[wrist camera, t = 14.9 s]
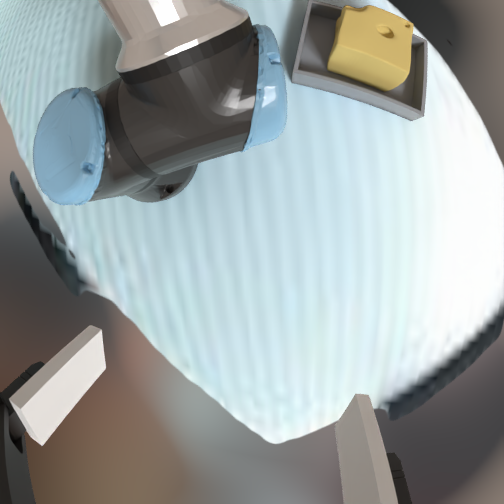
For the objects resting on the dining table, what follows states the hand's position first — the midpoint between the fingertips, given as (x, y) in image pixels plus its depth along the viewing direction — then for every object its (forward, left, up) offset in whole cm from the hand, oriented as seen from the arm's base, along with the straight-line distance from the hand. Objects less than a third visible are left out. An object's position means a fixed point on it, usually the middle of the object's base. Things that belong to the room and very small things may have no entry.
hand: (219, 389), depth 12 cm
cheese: (+9, +33, -31) cm, 46 cm away
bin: (+9, +33, -32) cm, 47 cm away
